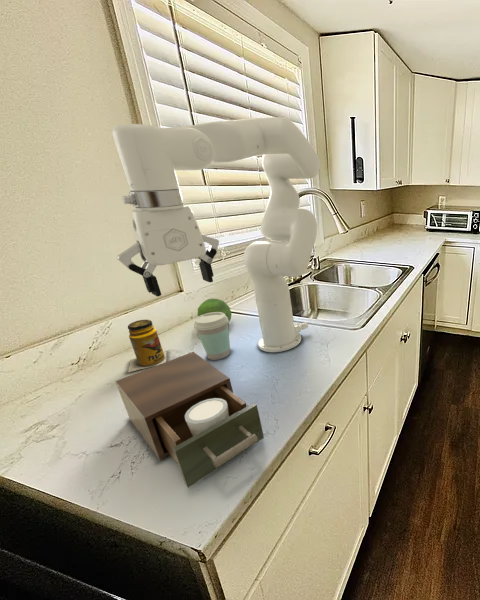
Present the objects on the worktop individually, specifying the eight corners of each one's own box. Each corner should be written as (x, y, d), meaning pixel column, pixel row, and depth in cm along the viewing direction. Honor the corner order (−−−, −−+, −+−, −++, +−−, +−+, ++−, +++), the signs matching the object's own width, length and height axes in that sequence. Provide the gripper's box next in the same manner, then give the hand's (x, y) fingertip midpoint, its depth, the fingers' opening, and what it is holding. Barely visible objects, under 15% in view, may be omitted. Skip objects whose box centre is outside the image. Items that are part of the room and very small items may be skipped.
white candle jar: (192, 459, 57) (181, 428, 55) (195, 433, 63) (186, 403, 61) (234, 445, 60) (227, 415, 58) (234, 422, 66) (227, 393, 63)
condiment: (166, 363, 91) (154, 324, 86) (128, 373, 86) (113, 332, 82) (166, 352, 96) (155, 315, 92) (130, 360, 92) (116, 322, 88)
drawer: (279, 450, 60) (272, 416, 57) (201, 506, 50) (189, 468, 47) (223, 404, 73) (215, 374, 70) (152, 441, 63) (140, 408, 60)
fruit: (200, 320, 117) (193, 294, 113) (230, 314, 122) (225, 289, 118) (201, 337, 105) (194, 308, 101) (235, 329, 110) (229, 302, 106)
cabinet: (238, 416, 71) (229, 377, 67) (160, 460, 60) (144, 418, 56) (202, 385, 81) (193, 351, 77) (130, 419, 70) (115, 381, 66)
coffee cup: (241, 349, 97) (234, 313, 93) (218, 364, 90) (208, 325, 85) (219, 345, 100) (211, 309, 95) (195, 359, 92) (184, 321, 88)
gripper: (105, 206, 51) (140, 305, 58) (216, 197, 64) (234, 279, 71) (92, 203, 56) (126, 296, 62) (199, 196, 68) (217, 273, 75)
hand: (183, 287), depth 66 cm, fingers open, 9 cm apart
